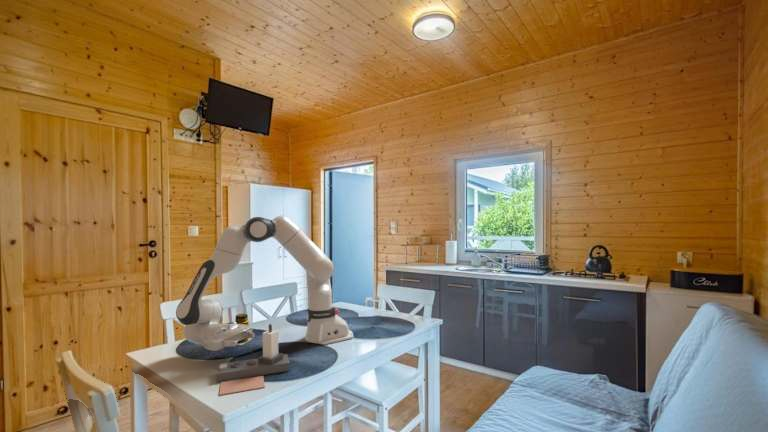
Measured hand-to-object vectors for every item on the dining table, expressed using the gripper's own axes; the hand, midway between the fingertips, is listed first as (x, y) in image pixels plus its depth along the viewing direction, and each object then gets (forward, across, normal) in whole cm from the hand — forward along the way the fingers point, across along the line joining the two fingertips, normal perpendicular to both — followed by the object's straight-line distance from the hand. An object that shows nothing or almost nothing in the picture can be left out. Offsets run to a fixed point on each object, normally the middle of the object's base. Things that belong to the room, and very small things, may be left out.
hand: (245, 339), depth 143 cm
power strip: (+8, -4, +10) cm, 13 cm away
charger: (+12, 0, +7) cm, 14 cm away
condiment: (-20, +19, +10) cm, 30 cm away
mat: (+12, -14, +10) cm, 21 cm away
